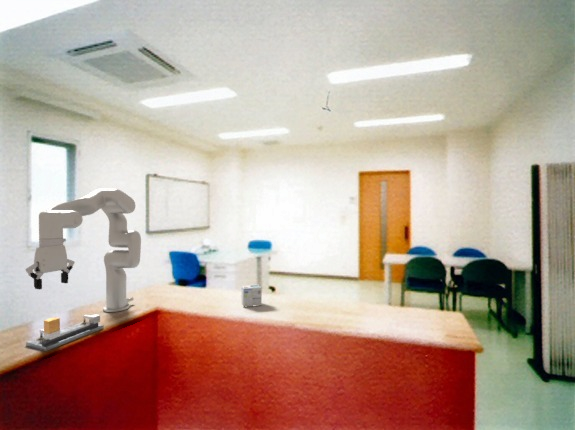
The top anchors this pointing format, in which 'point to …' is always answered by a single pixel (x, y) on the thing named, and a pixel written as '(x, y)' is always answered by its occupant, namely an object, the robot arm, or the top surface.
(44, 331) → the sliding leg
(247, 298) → the light bulb box
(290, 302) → the top surface
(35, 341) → the base
